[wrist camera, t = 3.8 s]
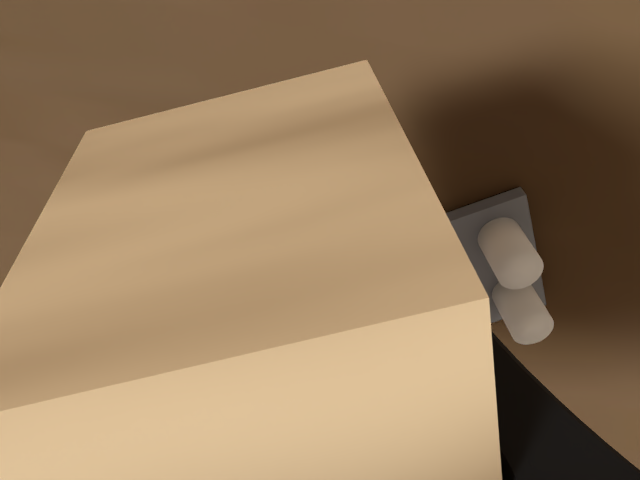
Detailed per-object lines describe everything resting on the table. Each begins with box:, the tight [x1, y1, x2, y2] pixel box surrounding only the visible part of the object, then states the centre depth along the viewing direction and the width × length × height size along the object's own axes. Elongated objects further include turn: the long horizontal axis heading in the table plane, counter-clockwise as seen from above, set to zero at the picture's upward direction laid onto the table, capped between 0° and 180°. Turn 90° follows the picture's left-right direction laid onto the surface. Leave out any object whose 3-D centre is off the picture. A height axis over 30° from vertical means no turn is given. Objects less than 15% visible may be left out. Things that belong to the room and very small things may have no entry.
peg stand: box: [446, 187, 554, 345], centre depth 20 cm, size 5×7×2 cm
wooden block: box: [0, 60, 502, 480], centre depth 9 cm, size 8×4×6 cm, turn 13°
